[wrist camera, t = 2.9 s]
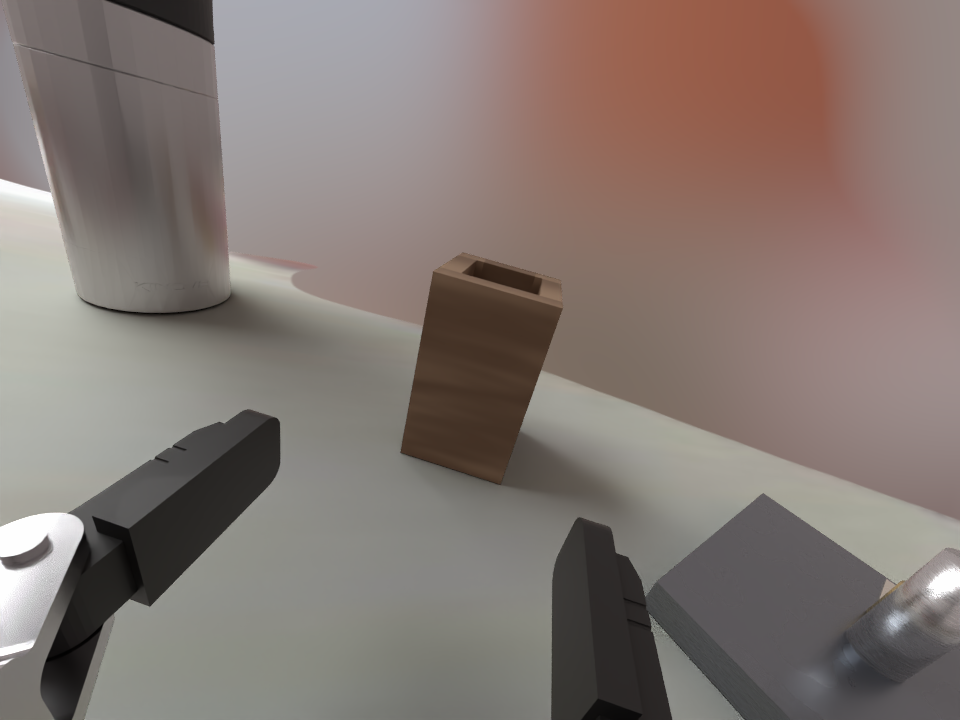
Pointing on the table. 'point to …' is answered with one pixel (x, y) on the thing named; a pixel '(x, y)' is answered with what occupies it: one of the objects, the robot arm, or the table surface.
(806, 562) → the base plate
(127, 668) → the table surface
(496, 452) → the sleeve
